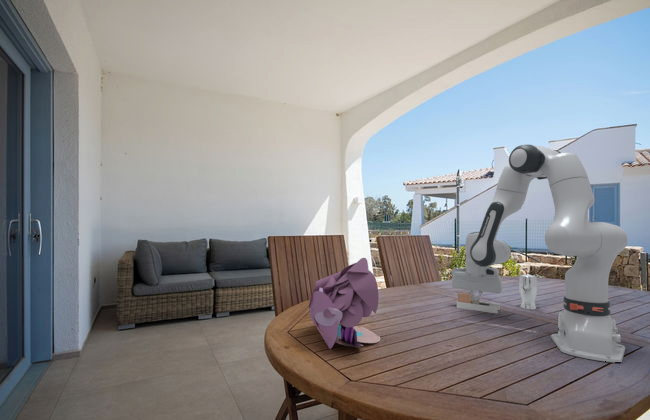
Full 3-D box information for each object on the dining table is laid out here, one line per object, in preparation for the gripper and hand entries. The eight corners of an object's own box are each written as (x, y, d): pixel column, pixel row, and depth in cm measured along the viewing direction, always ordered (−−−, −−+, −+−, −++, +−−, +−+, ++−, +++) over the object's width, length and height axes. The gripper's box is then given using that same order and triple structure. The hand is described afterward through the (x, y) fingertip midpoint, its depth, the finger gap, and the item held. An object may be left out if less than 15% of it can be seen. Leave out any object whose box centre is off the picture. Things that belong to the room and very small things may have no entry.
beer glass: (540, 312, 149) (540, 277, 149) (524, 311, 149) (524, 276, 149) (531, 308, 156) (531, 274, 156) (516, 307, 156) (515, 274, 156)
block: (470, 308, 149) (470, 294, 149) (457, 307, 152) (457, 293, 152) (472, 306, 153) (472, 292, 153) (460, 304, 156) (460, 291, 156)
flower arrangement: (399, 367, 103) (421, 275, 104) (329, 363, 94) (352, 263, 95) (348, 322, 136) (364, 252, 136) (292, 317, 127) (309, 242, 127)
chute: (497, 316, 142) (497, 307, 142) (456, 310, 151) (456, 302, 151) (499, 311, 148) (499, 303, 148) (460, 306, 157) (460, 298, 157)
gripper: (449, 267, 154) (449, 299, 153) (501, 272, 142) (501, 305, 142) (453, 266, 159) (453, 296, 159) (502, 270, 148) (503, 302, 147)
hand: (476, 300), depth 150 cm, fingers closed
